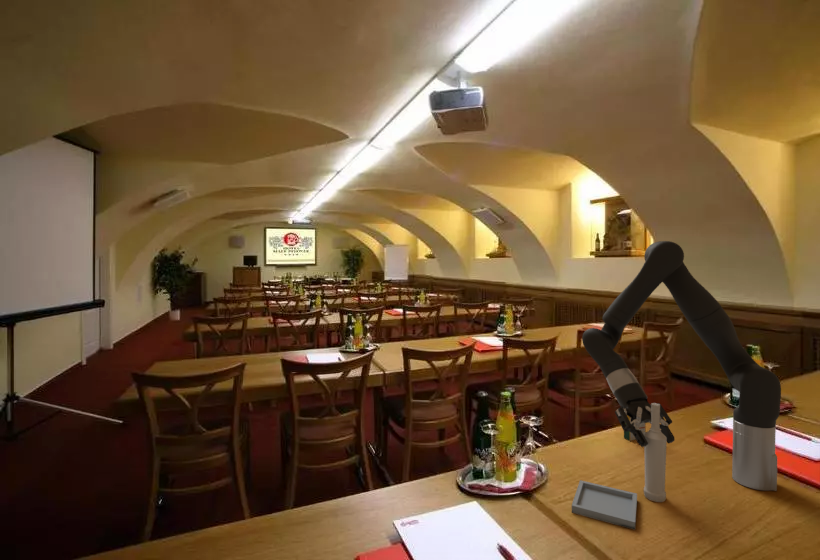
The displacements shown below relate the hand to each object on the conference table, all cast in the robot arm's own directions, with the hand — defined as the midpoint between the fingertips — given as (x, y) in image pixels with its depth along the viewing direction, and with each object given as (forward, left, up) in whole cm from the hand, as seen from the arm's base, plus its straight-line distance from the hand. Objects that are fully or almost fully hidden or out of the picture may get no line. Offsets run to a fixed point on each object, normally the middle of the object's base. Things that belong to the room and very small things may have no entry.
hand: (658, 443), depth 109 cm
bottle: (+1, -1, -15) cm, 15 cm away
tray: (+12, +10, -15) cm, 22 cm away
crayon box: (+7, -41, -15) cm, 44 cm away
